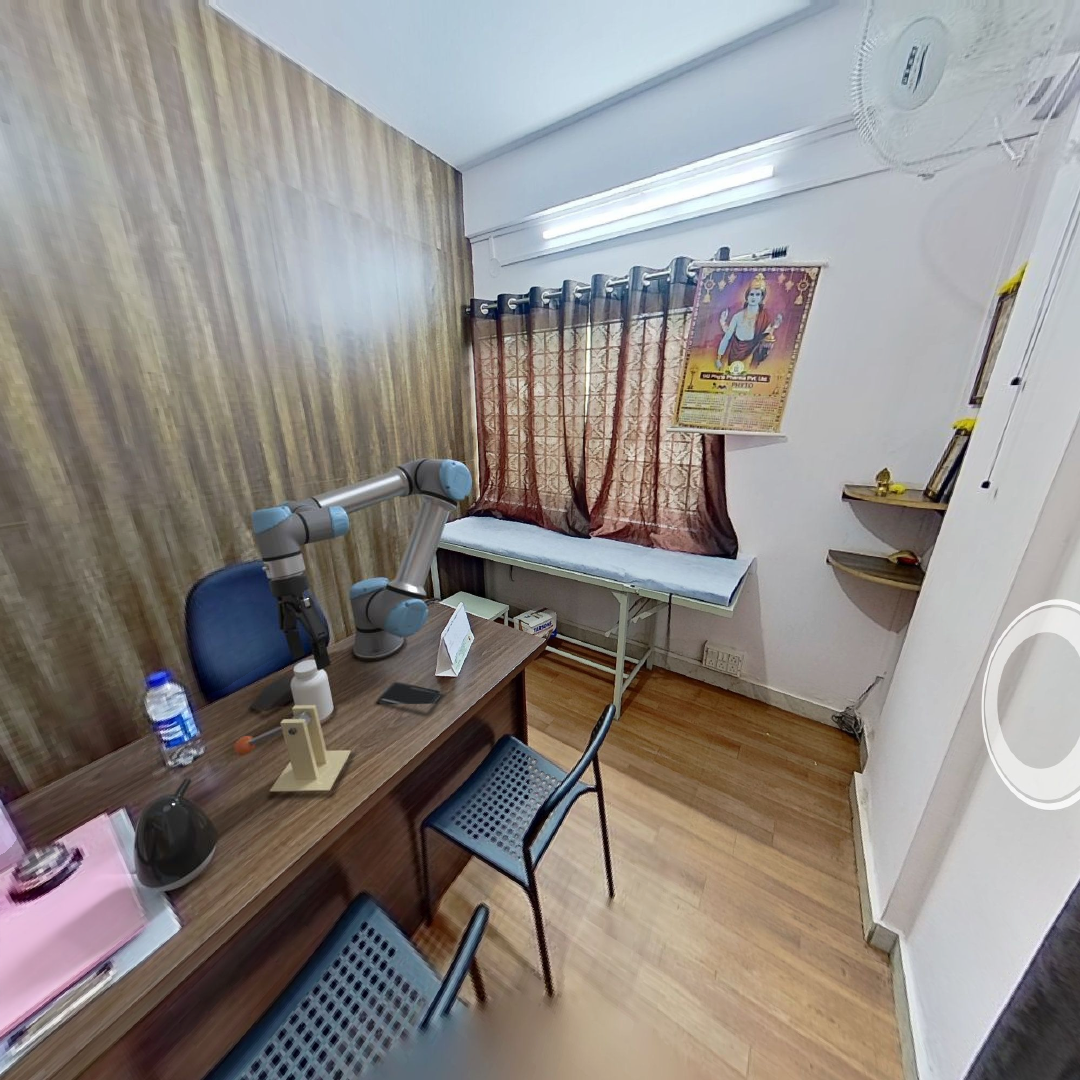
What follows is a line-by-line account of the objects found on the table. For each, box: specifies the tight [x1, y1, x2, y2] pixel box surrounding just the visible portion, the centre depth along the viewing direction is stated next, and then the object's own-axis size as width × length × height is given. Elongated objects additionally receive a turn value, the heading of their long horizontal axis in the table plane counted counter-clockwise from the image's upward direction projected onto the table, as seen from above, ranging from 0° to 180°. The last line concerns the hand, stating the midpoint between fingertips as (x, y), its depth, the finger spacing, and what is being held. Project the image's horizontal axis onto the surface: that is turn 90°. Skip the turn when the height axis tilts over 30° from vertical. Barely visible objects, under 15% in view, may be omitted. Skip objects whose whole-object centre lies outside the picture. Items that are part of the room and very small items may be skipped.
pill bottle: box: [291, 659, 334, 722], centre depth 102 cm, size 8×8×15 cm
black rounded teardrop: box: [133, 777, 219, 892], centre depth 68 cm, size 10×10×15 cm
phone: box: [378, 681, 442, 705], centre depth 109 cm, size 8×1×15 cm
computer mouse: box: [250, 674, 295, 712], centre depth 111 cm, size 8×14×4 cm, turn 151°
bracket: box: [269, 704, 352, 793], centre depth 85 cm, size 12×10×16 cm
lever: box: [233, 711, 312, 756], centre depth 84 cm, size 17×4×4 cm, turn 91°
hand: (311, 662), depth 97 cm, fingers open, 13 cm apart
